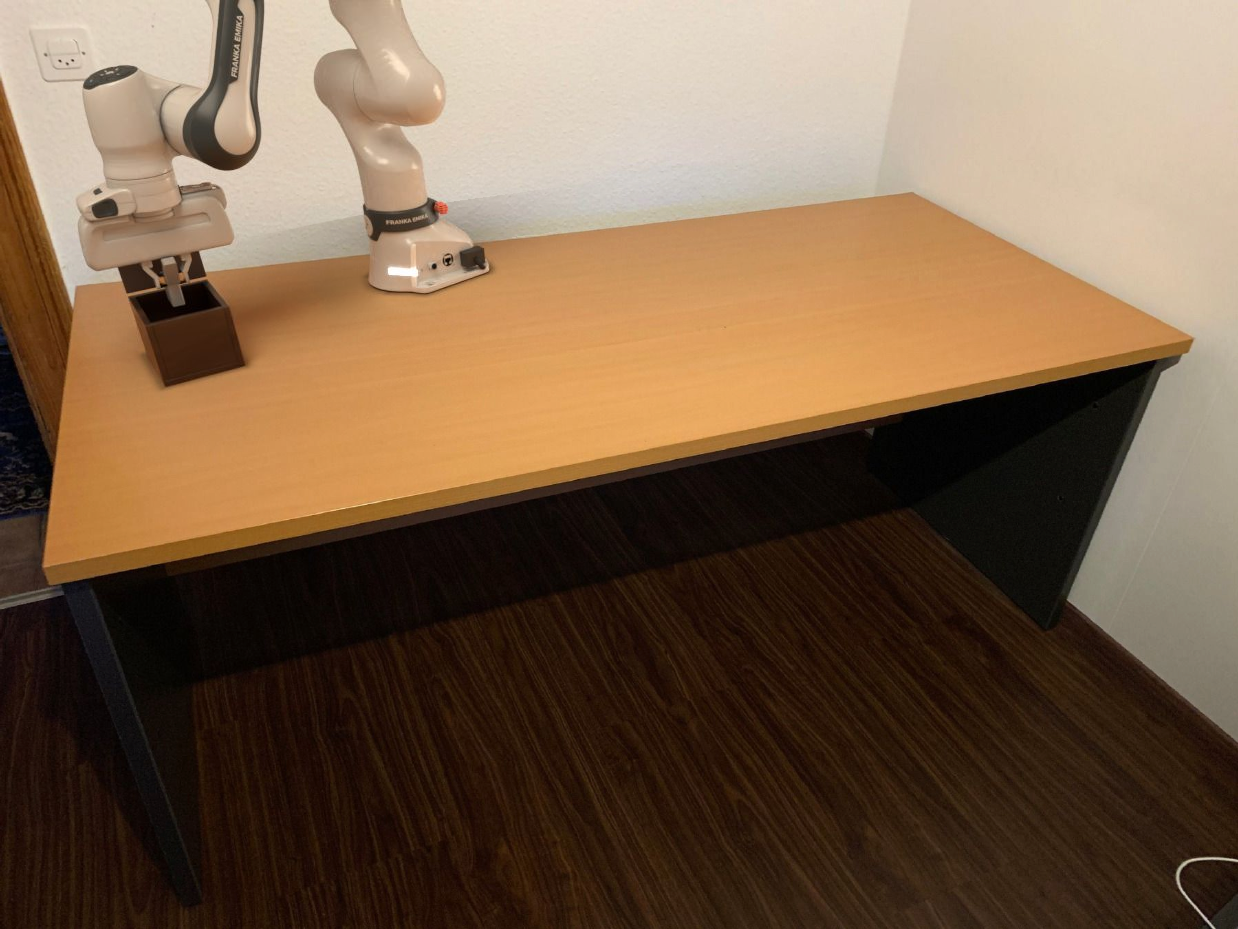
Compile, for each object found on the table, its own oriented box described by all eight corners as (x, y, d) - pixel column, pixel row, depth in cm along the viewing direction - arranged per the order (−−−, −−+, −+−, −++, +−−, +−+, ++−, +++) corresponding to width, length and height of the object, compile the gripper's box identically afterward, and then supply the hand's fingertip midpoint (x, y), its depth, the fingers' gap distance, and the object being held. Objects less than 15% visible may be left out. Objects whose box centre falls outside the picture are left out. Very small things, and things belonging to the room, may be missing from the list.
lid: (178, 184, 139) (173, 182, 143) (94, 198, 134) (90, 196, 138) (206, 276, 145) (200, 272, 149) (126, 293, 140) (122, 288, 144)
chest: (245, 365, 142) (229, 306, 137) (165, 387, 137) (145, 326, 131) (222, 335, 151) (207, 278, 146) (146, 354, 146) (127, 296, 141)
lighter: (167, 298, 141) (152, 247, 136) (179, 295, 142) (164, 245, 137) (177, 313, 136) (162, 261, 131) (190, 310, 137) (175, 258, 132)
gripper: (215, 174, 136) (237, 263, 144) (63, 199, 127) (95, 293, 134) (226, 184, 132) (249, 275, 140) (69, 211, 123) (103, 307, 130)
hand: (172, 284), depth 137 cm, fingers closed on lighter, 2 cm apart
